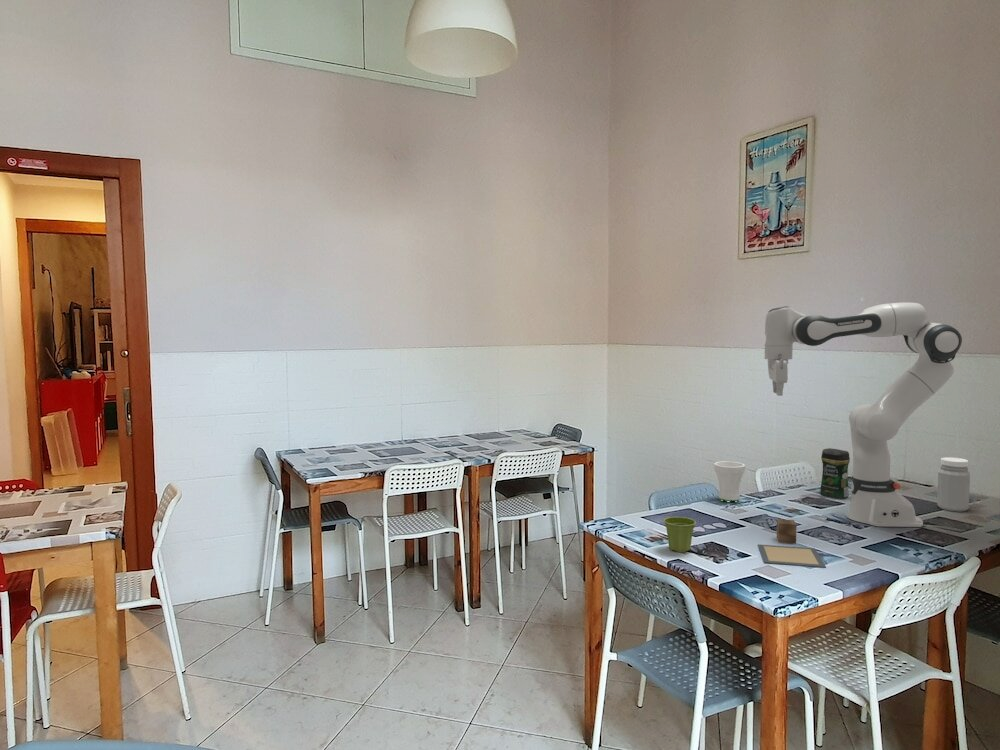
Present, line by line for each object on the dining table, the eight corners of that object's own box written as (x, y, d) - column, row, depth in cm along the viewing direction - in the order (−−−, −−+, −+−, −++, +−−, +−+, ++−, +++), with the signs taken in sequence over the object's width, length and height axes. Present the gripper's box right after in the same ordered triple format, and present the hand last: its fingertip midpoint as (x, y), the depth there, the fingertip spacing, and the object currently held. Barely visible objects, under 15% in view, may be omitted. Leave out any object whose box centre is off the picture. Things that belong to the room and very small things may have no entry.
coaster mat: (814, 549, 199) (814, 548, 199) (825, 567, 184) (825, 566, 184) (757, 545, 204) (757, 544, 204) (763, 563, 188) (763, 562, 188)
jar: (973, 513, 235) (974, 462, 234) (940, 511, 239) (942, 461, 237) (964, 506, 244) (966, 457, 243) (933, 504, 248) (935, 456, 246)
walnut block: (793, 538, 210) (793, 519, 209) (796, 543, 205) (796, 524, 205) (776, 537, 211) (776, 518, 211) (778, 542, 206) (779, 523, 206)
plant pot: (660, 544, 206) (660, 516, 205) (691, 544, 206) (691, 516, 205) (667, 554, 197) (667, 525, 196) (699, 554, 196) (699, 525, 196)
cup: (749, 504, 251) (750, 466, 250) (720, 505, 250) (721, 467, 249) (736, 496, 262) (737, 460, 261) (709, 497, 261) (709, 461, 260)
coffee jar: (816, 495, 263) (817, 448, 262) (829, 492, 267) (830, 446, 266) (840, 500, 255) (841, 452, 253) (852, 497, 259) (853, 450, 257)
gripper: (792, 355, 219) (792, 397, 220) (784, 353, 238) (783, 391, 239) (772, 355, 220) (771, 397, 221) (765, 353, 240) (764, 391, 241)
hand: (777, 394), depth 230 cm, fingers open, 8 cm apart
